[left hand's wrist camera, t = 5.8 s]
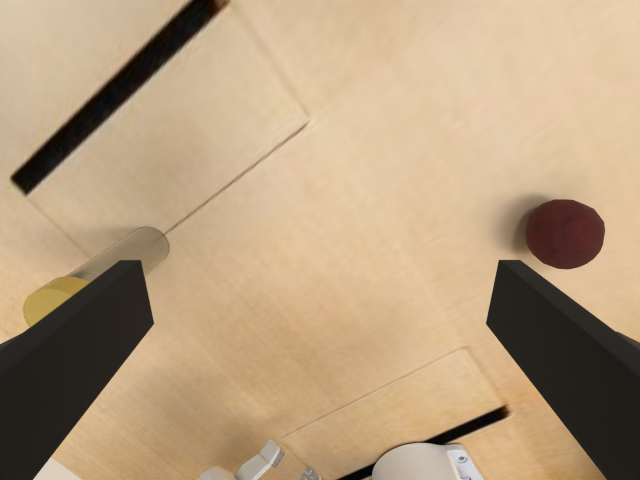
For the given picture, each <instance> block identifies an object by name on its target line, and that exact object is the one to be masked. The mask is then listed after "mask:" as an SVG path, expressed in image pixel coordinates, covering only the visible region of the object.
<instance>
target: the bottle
mask: <svg viewBox="0 0 640 480" xmlns="http://www.w3.org/2000/svg"><path fill="white" fill-rule="evenodd" d="M168 252H169V243H168V240H167V239H166V237H165V236H164V235H163V234H162V233H161V232H160V231H159V230H157V229H154V228H151V227H142V228H139V229H137V230H135V231H134V232H132V233H131V234H129V235H128V236H126V237H124V238H123V239H121V240H120V241H118V242H117V243H115V244H114V245H112V246H111V247H109V248H108V249H106V250H105V251H103V252H101V253H100V254H98V255H97V256H95V257H94V258H92V259H91V260H89V261H88V262H86V263H85V264H83V265H81V266H80V267H78V268H77V269H75V270H74V271H72V272H71V273H69V274H68V275H66V276H69V277H77V278H80V279H83V280H85V281H87V282H89V283H90V282H91V281H93V280H94V279H95V278H97V277H98V276H99V275H101V274H102V273H103V272H105V271H106V270H107V269H109V268H110V267H111V266H113V265H114V264H115V263H117V262H118V261H119V260H141V262H142V267H143V272H144V277H146V276H147V275H148V274H149V273H150V272H151V271H152V270H153V269H154V268H155V267H156V266H157V265H158V264H159V263H160V262H162V261H163V260H164V259H165V258H166V256H167V255H168ZM66 276H65V277H66Z"/></svg>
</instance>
